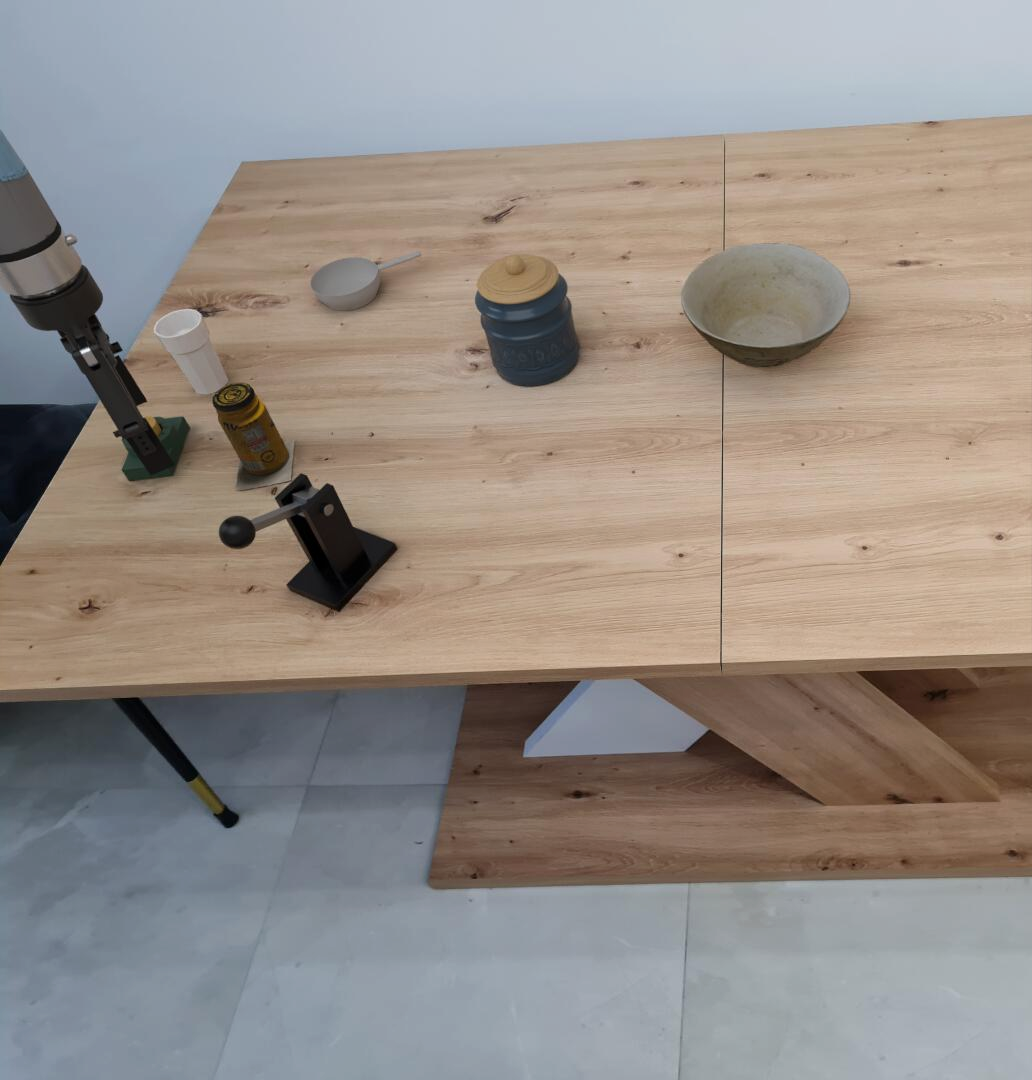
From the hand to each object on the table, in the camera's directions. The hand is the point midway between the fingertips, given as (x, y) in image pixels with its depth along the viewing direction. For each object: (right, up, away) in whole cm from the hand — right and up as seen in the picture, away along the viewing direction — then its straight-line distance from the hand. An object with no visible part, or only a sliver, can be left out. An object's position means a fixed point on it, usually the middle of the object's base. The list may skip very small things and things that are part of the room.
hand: (148, 435), depth 120 cm
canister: (+39, +14, +35) cm, 54 cm away
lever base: (+19, -16, +9) cm, 26 cm away
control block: (-13, 0, +26) cm, 29 cm away
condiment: (+4, -2, +23) cm, 23 cm away
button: (-13, +3, +23) cm, 27 cm away
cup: (-10, +11, +36) cm, 39 cm away
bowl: (+73, +16, +33) cm, 82 cm away
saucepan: (+9, +29, +50) cm, 59 cm away
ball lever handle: (+16, -11, -3) cm, 20 cm away
